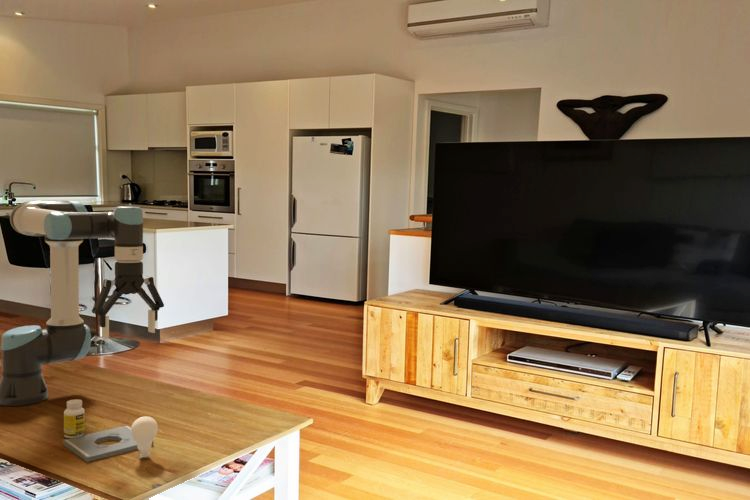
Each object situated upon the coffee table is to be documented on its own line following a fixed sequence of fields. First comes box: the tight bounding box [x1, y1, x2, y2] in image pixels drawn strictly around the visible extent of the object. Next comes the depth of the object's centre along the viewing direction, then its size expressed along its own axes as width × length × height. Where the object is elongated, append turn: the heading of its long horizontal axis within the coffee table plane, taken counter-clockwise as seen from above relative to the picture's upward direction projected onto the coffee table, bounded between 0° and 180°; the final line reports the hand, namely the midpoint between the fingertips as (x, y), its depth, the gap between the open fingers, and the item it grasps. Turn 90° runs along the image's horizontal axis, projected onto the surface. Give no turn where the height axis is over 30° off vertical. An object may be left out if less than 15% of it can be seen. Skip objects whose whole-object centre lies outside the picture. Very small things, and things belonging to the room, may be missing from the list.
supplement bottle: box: [63, 398, 86, 439], centre depth 191 cm, size 5×5×10 cm
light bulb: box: [131, 415, 159, 459], centre depth 176 cm, size 7×7×11 cm
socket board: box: [62, 425, 154, 463], centre depth 185 cm, size 16×18×1 cm
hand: (129, 335), depth 194 cm, fingers open, 13 cm apart
